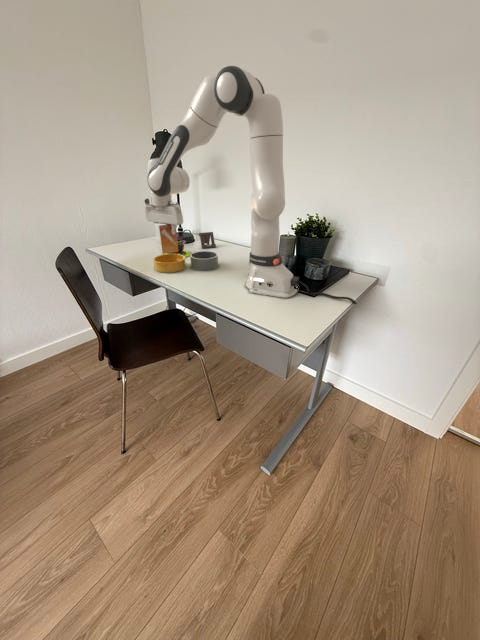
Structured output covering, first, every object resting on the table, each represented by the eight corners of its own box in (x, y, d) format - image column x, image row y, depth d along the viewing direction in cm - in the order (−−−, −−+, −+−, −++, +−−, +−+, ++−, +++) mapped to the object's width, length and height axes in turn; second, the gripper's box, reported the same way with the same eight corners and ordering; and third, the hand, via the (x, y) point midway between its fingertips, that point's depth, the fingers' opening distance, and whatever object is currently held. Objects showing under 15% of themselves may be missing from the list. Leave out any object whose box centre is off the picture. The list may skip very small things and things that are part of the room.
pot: (223, 265, 137) (223, 253, 134) (207, 273, 127) (206, 260, 124) (202, 260, 143) (201, 249, 140) (185, 267, 133) (184, 256, 130)
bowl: (191, 266, 135) (190, 256, 132) (170, 275, 124) (169, 265, 121) (170, 261, 141) (168, 252, 139) (148, 269, 130) (146, 259, 128)
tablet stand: (202, 248, 163) (201, 234, 159) (198, 245, 169) (197, 232, 165) (215, 247, 166) (215, 233, 162) (212, 244, 172) (211, 231, 168)
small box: (162, 254, 124) (158, 225, 118) (158, 251, 129) (153, 223, 122) (179, 251, 128) (175, 223, 122) (174, 248, 133) (170, 221, 126)
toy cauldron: (176, 249, 161) (174, 230, 156) (195, 253, 155) (194, 234, 149) (158, 255, 150) (155, 235, 145) (178, 260, 144) (175, 239, 138)
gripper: (184, 201, 115) (187, 234, 122) (151, 198, 124) (155, 229, 131) (174, 203, 110) (178, 237, 117) (140, 199, 119) (145, 231, 126)
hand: (166, 233), depth 124 cm, fingers closed on small box, 7 cm apart
